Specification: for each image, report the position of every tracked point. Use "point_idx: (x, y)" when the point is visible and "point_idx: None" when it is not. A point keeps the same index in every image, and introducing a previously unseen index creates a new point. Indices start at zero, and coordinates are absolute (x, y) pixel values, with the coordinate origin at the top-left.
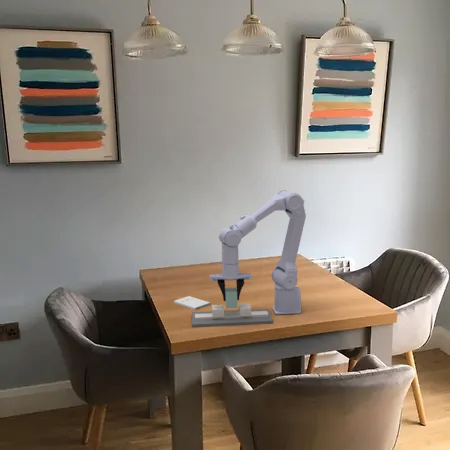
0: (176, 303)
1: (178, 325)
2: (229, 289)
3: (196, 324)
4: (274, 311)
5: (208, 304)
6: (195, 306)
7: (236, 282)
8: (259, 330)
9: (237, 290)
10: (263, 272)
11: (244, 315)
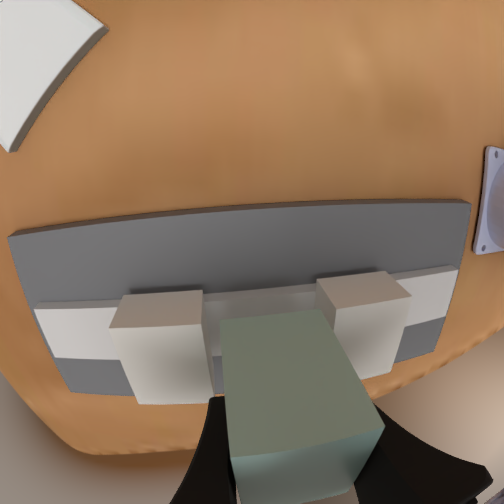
0: None
1: (18, 356)
2: (288, 483)
3: (87, 393)
4: (480, 227)
5: (87, 46)
6: (6, 125)
7: (406, 495)
8: None
9: (356, 491)
10: None
11: None
